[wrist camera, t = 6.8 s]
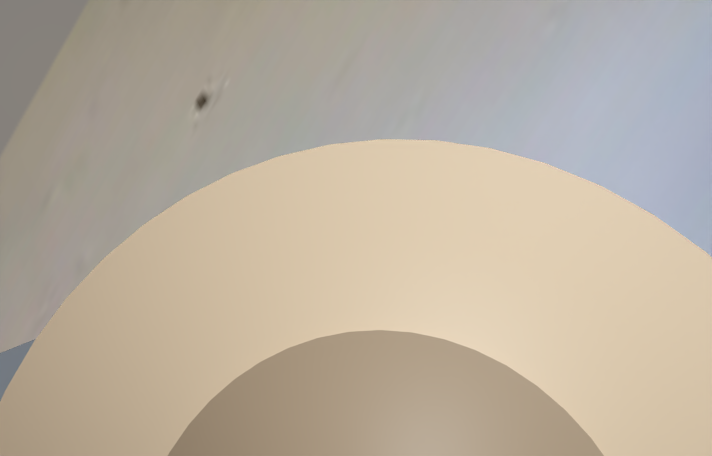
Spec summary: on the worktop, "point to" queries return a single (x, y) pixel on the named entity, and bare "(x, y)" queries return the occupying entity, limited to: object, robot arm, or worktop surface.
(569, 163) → the worktop surface
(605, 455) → the beige knobbed cylinder
